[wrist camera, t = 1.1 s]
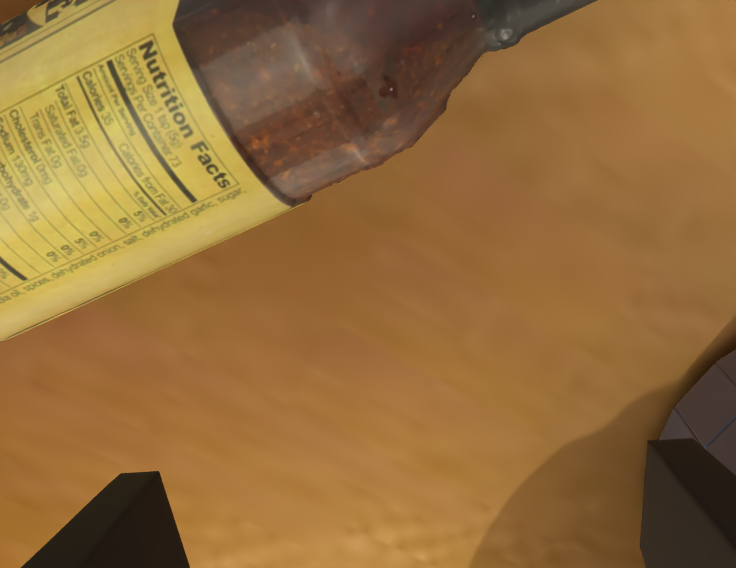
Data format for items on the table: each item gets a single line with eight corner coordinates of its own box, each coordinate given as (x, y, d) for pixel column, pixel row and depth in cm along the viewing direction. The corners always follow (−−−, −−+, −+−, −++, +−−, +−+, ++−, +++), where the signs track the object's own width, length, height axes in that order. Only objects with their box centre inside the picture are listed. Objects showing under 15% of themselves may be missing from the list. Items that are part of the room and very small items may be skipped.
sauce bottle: (-78, 156, 20) (569, -182, 17) (11, 351, 20) (667, 53, 17) (-335, 126, 13) (639, -432, 10) (-200, 413, 14) (795, -49, 11)
